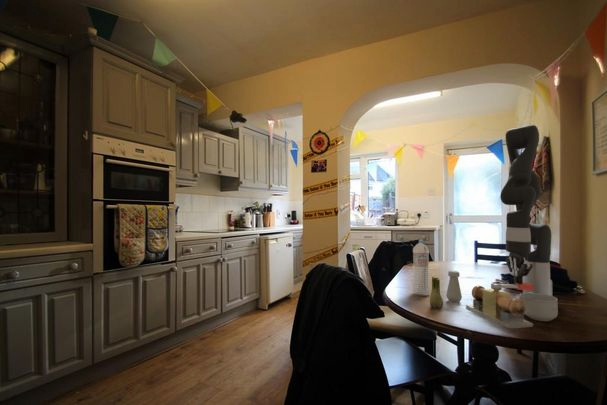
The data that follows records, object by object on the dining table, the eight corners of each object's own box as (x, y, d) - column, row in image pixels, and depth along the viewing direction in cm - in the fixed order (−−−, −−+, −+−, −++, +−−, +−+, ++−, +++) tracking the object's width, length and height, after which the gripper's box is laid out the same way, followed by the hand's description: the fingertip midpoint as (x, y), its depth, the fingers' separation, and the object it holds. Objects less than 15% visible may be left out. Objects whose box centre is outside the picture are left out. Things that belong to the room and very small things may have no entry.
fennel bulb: (430, 304, 119) (430, 275, 119) (444, 306, 116) (443, 276, 117) (428, 308, 114) (428, 278, 114) (442, 310, 111) (442, 279, 112)
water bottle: (430, 293, 134) (429, 239, 135) (427, 297, 129) (427, 241, 129) (414, 291, 138) (414, 239, 139) (411, 294, 132) (411, 240, 133)
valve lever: (494, 289, 104) (494, 284, 104) (489, 287, 108) (489, 281, 108) (534, 290, 103) (534, 285, 103) (528, 288, 107) (528, 282, 107)
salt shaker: (463, 304, 119) (463, 272, 120) (448, 303, 120) (448, 272, 121) (459, 300, 125) (458, 269, 125) (444, 299, 126) (444, 269, 127)
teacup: (561, 326, 97) (560, 302, 97) (521, 319, 103) (520, 297, 103) (552, 314, 109) (552, 292, 109) (517, 308, 115) (516, 288, 115)
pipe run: (486, 307, 116) (486, 282, 116) (532, 326, 96) (532, 297, 97) (466, 308, 115) (466, 283, 115) (509, 328, 95) (508, 298, 95)
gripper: (541, 242, 101) (541, 291, 101) (518, 237, 114) (518, 281, 114) (518, 241, 102) (518, 290, 102) (497, 237, 115) (497, 281, 115)
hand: (518, 285), depth 108 cm, fingers closed
